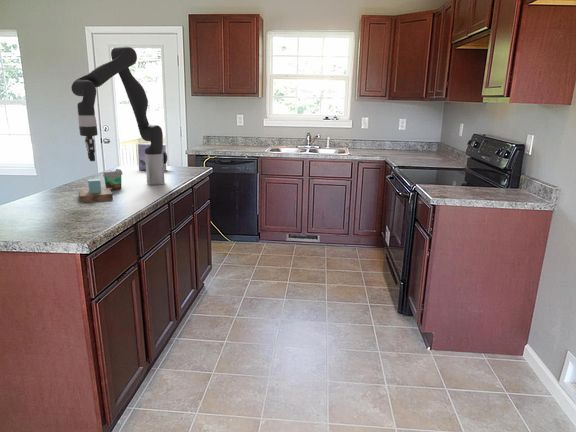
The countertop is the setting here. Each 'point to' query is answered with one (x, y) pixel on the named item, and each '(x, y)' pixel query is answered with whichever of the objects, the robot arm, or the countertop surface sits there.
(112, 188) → the food container
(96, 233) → the countertop surface
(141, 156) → the cake pan box
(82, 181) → the countertop surface
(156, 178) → the robot arm
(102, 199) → the walnut base
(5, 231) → the countertop surface
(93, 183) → the teal block
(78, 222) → the countertop surface
